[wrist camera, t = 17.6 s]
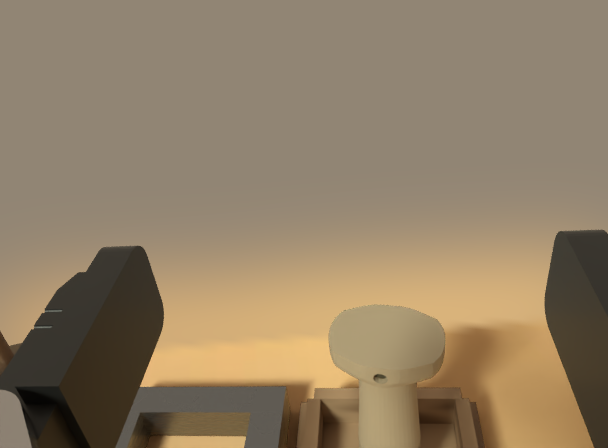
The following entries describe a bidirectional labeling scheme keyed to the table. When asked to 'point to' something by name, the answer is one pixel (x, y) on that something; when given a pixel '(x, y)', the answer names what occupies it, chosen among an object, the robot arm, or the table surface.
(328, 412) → the tray
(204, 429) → the socket block
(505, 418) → the table surface
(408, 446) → the handle
